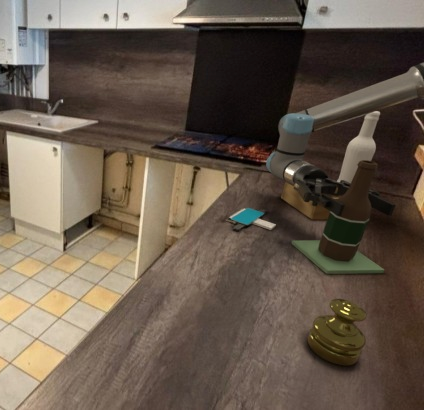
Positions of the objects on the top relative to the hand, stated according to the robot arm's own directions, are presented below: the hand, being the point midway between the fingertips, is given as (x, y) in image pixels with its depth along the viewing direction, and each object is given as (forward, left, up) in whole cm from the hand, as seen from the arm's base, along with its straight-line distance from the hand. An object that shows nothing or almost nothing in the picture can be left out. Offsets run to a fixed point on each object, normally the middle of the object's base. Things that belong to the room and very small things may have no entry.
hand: (366, 210), depth 80 cm
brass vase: (-25, +22, -15) cm, 37 cm away
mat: (+4, 0, -15) cm, 15 cm away
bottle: (+45, -34, -15) cm, 58 cm away
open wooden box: (+34, -17, -15) cm, 41 cm away
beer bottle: (+4, 0, -14) cm, 15 cm away
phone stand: (+24, +11, -15) cm, 30 cm away
